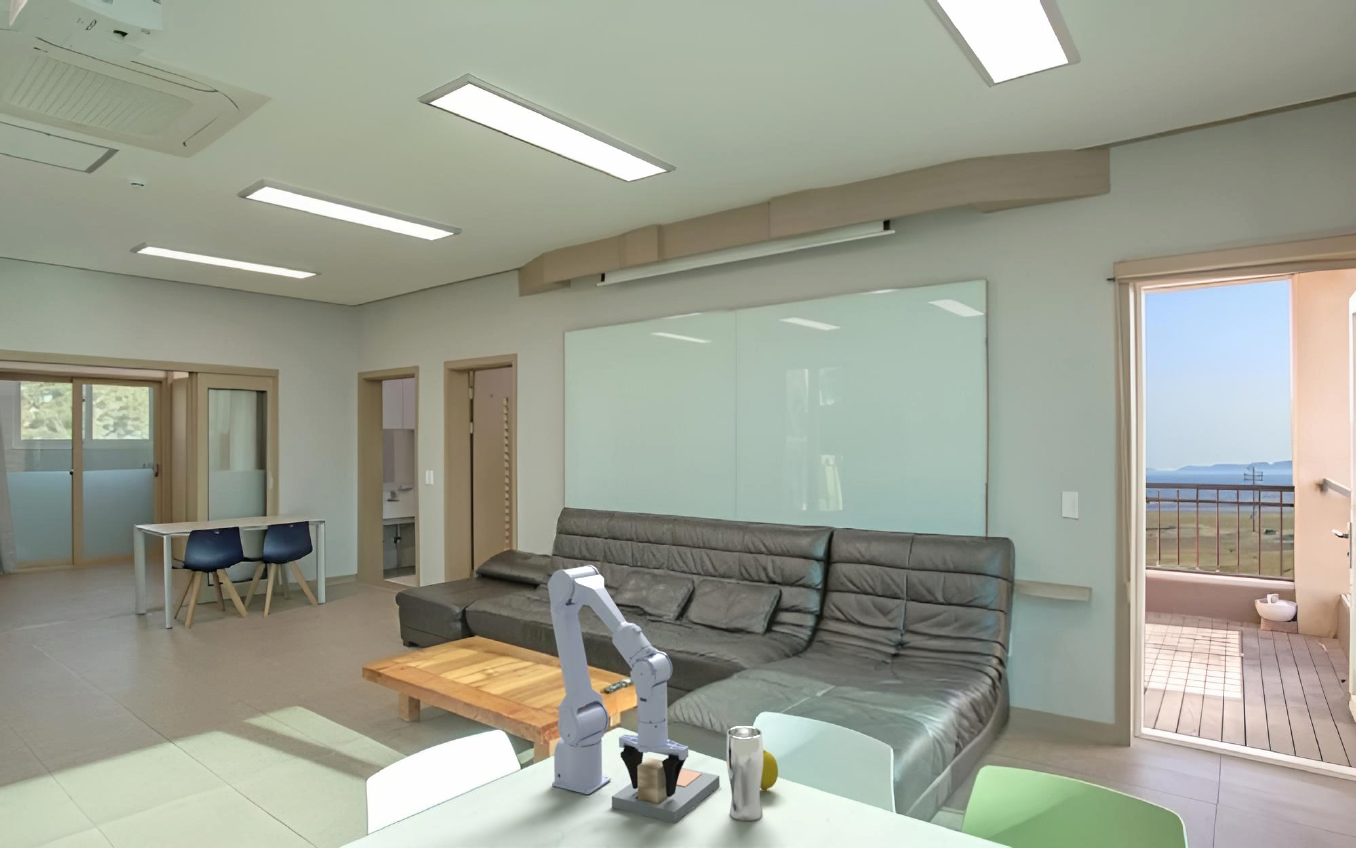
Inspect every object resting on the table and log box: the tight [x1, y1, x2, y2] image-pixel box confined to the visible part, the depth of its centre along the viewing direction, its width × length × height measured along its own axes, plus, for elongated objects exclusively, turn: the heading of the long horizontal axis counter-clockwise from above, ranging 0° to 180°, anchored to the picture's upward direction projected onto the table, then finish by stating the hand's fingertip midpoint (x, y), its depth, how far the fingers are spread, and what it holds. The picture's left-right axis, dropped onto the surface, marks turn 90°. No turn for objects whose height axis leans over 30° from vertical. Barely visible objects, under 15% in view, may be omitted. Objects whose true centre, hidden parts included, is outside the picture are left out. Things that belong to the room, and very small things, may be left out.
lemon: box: [760, 749, 779, 792], centre depth 151 cm, size 6×6×8 cm
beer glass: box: [725, 725, 764, 823], centre depth 141 cm, size 7×7×15 cm
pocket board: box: [611, 767, 721, 824], centre depth 149 cm, size 14×18×2 cm
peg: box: [637, 757, 668, 804], centre depth 145 cm, size 4×4×8 cm
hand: (653, 790), depth 145 cm, fingers open, 7 cm apart
